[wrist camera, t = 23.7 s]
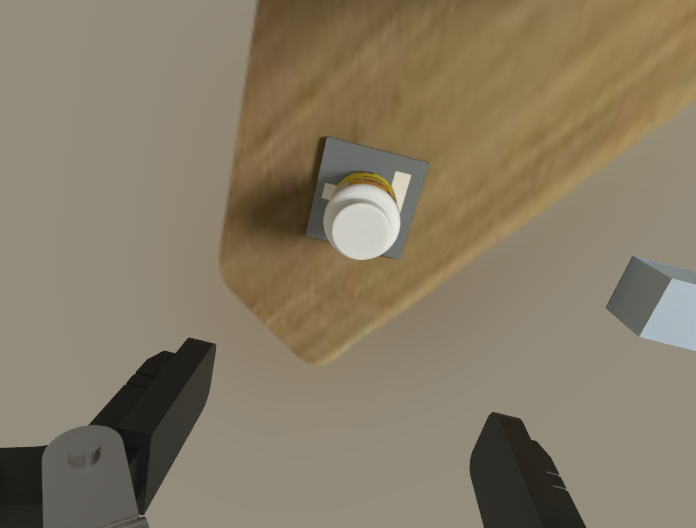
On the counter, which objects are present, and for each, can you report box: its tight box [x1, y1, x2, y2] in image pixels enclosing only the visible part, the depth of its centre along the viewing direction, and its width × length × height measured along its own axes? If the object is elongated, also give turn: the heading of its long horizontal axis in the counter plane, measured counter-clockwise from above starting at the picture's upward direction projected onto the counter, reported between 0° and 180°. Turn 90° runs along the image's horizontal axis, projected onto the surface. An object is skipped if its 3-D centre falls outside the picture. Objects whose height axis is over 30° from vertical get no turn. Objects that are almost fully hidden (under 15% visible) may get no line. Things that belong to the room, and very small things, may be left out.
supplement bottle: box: [323, 171, 400, 260], centre depth 33 cm, size 6×6×10 cm
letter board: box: [305, 136, 429, 259], centre depth 38 cm, size 9×9×1 cm
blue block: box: [606, 256, 696, 351], centre depth 37 cm, size 6×6×6 cm
